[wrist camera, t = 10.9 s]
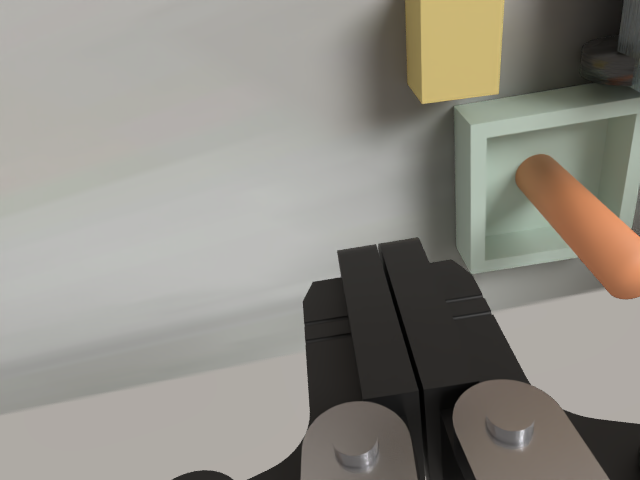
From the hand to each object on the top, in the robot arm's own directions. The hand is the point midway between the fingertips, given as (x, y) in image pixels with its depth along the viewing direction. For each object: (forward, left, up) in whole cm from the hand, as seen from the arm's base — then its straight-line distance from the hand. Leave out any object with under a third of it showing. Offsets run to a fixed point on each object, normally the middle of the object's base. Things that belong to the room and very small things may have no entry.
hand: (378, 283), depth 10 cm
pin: (-11, +9, -19) cm, 24 cm away
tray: (-11, +9, -20) cm, 24 cm away
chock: (-6, 0, -20) cm, 21 cm away
